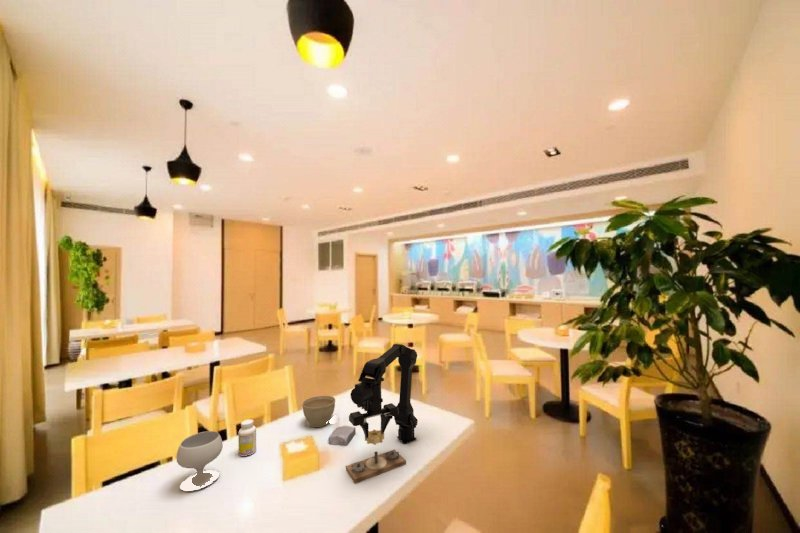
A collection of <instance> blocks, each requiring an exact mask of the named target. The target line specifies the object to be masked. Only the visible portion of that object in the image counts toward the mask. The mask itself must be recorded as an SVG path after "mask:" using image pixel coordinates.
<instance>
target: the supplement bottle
mask: <svg viewBox="0 0 800 533" xmlns="http://www.w3.org/2000/svg"><path fill="white" fill-rule="evenodd" d="M240 426H241V428H240V429H239V431H238V435H237V436H238V456H239V455H241V456H247V455H250V456H252V455H253V453H254V452H255V453H256V451H257V427H256V426H255V425H254V419H245V420H243V421H242V422H241V423H240ZM255 453H254V454H255ZM251 454H252V455H251ZM241 456H240V457H241ZM247 457H248V456H247Z"/></svg>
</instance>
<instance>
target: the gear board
mask: <svg viewBox="0 0 800 533" xmlns="http://www.w3.org/2000/svg"><path fill="white" fill-rule="evenodd" d="M404 465H405V466H406V465H407V460H406V459H405V458H404V457H403V456H402V455H401V454H400V452H399V451H397V450H396V449H392V450H389V451H385V452H383V453H379V454H378V451H374V456H372V457H368V458H365V459H363V460H359V461H356V462H355V463H351V464H348V465H346V466H345V471H346V473H347V474H348V476H349V477H350V479H351V480H352V482H353V483H354V484H355V485H356V484H358V483H361V482H364V481H366V480H369V479H371V478H374V477H376V476H379V475H382V474H384V473H387V472H390V471H392V470H394V469H397V468H400V467H402V466H404Z"/></svg>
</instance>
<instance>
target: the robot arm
mask: <svg viewBox="0 0 800 533" xmlns="http://www.w3.org/2000/svg"><path fill="white" fill-rule="evenodd" d="M417 358H418V353H417V351H416V349H414V348H411V347H408V346H406V345H405V344H401V343H394V344H392V346H391V347H389V349H387V350H386V351H385V352H384V353H383V354H381V355H380V356H379V357H377V358H373V359H370V360H368V361H366V362H365V364H364V365H363V368H362V369H361V373H360V376H359V377H358V382H359V383H355V384H354V388H353V389H351V392H350V400H351V401H352V403H353V404H354V405H356V406H357V408H360V409H361V410H363V411H364V413H362V412H360V411H359V410H358V411H354V412H350V414H349V415H348V421H349V422H350V424H351V425H352V427H357V426H358V427H359V426H360V427H361V429H362V431H363V435H364V438H365V437H366V439H367V438H368V431H369V422H367V419H370V418H374V417H378V416H379V417H380V430H381V432H382V433H384V434H385V431H386V429H387V427H388V425H389V423H390V421H391V420H392V419H394V422H395V425H396V426H398V429H397V435H398V436H397V437H396V438H397V439H398V440H399V441H400V442H401V443H403V445H406V444H408V443H412V442H414V441H415V442H416V441H417V438H416V436H415V428H417V425H418V421H419V420H418V418H417V417H416V416H415V414H414V411H415V410H414V408H413V406H412V403H411V396H412V377H413V368H414V367H415V365H416V364H417ZM396 359H397V362H398V364H399V367H400V369H401V370H400V371H401V372H400V381H399V382H400V386H399V400H398V403H397V405H395V404H393V403H391V402H390V403H386V404H384V405H383V408H382V403H383V402H384V399H383V398H382V382H384V381H385V378H384V377H383V376H384V375H385V374H386V372H387V367H389V366H390V365H391V364H392V363H393V362H394V361H395V360H396Z"/></svg>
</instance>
